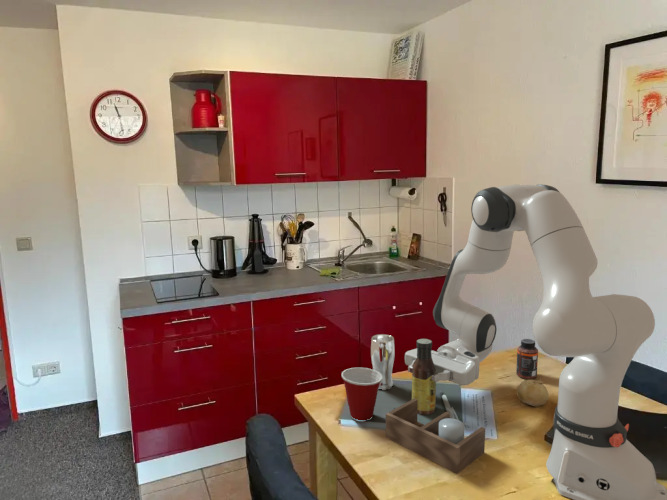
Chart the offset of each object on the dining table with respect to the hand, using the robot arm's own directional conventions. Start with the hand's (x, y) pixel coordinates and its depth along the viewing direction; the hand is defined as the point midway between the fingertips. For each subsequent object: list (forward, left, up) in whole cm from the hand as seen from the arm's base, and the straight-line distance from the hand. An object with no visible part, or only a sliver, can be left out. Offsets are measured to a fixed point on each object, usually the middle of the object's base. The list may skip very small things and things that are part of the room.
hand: (421, 374), depth 131 cm
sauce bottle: (0, -1, -11) cm, 11 cm away
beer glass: (+18, -5, -11) cm, 22 cm away
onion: (-18, -26, -11) cm, 34 cm away
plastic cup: (+10, +12, -11) cm, 19 cm away
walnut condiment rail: (-12, +11, -11) cm, 20 cm away
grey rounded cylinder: (-17, +11, -10) cm, 23 cm away
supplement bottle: (-9, -41, -11) cm, 43 cm away
